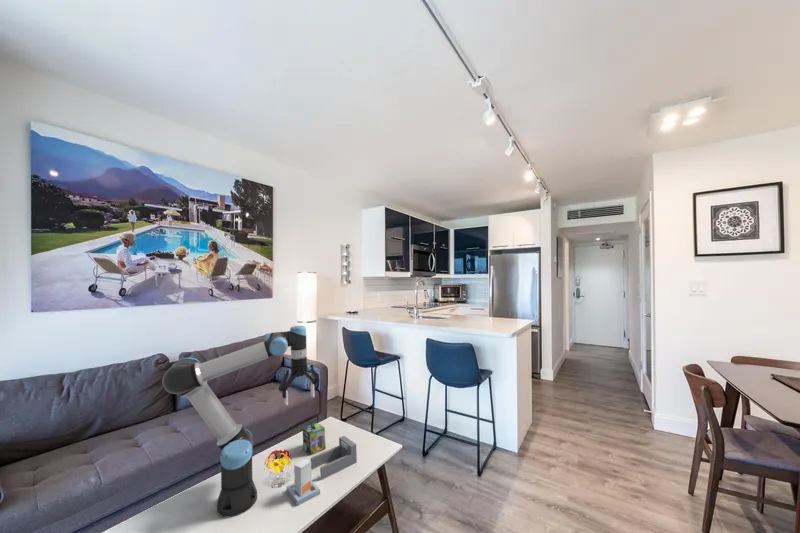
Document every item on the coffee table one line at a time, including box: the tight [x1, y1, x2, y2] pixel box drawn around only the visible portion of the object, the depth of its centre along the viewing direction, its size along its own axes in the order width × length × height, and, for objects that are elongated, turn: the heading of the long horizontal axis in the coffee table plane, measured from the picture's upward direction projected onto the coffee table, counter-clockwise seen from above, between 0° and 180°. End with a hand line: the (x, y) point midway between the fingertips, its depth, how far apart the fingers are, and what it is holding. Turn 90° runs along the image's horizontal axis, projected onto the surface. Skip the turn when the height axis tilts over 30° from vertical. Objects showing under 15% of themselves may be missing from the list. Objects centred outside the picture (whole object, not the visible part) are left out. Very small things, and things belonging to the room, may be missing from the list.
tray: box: [286, 479, 321, 506], centre depth 136 cm, size 10×12×2 cm
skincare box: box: [293, 458, 312, 496], centre depth 136 cm, size 6×4×12 cm
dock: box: [310, 435, 358, 480], centre depth 154 cm, size 19×12×9 cm, turn 131°
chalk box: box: [302, 420, 327, 456], centre depth 170 cm, size 9×9×15 cm
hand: (299, 400), depth 155 cm, fingers open, 13 cm apart
